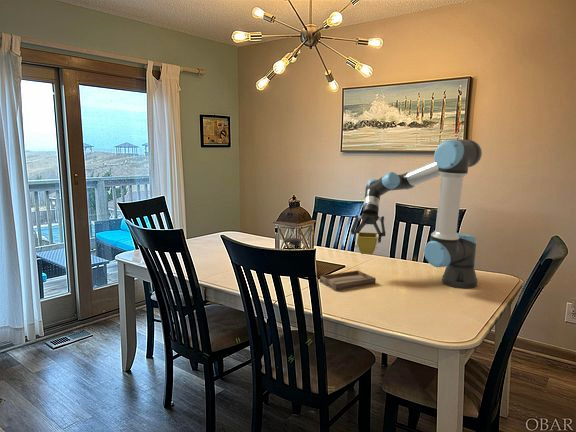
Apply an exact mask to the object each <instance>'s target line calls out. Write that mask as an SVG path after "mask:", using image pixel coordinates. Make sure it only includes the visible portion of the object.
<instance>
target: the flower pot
mask: <svg viewBox="0 0 576 432" xmlns="http://www.w3.org/2000/svg"><path fill="white" fill-rule="evenodd" d="M377 234H378V233H377V232H363V231H362V232H361V231H360V232H359V233H358V236H357V238H358V245H357V249H358V250H359V252H360V254H361V255H371V256H372V255H373V254H374V252H375V250H376V239H377Z"/></svg>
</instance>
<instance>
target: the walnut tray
mask: <svg viewBox="0 0 576 432" xmlns="http://www.w3.org/2000/svg"><path fill="white" fill-rule="evenodd" d="M319 283H320V284H322V285H324V286H325V287H327V288H329V289H331V290H332V291H334V292H338V291H339V292H340V291H344V290H349V289H350V290H351V289H357V288H363V287H368V286H373V285H375V286H376V277H374V276H372V275H369V274H367V273H365V272H363V271H361V270H357V269H356V270H350V271H344V272H338V273H331V274H324V275H319Z"/></svg>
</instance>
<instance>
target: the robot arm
mask: <svg viewBox="0 0 576 432" xmlns="http://www.w3.org/2000/svg"><path fill="white" fill-rule="evenodd" d="M482 151H483V150H482V147H481V146H480V144H479V143H478V142H477V141H475V140H472V139H455V138H454V139H449V140H448V139H447V140H444V141H443V142H442V141H441V143H439V144H438V146H437V147H436V149H435V151H434V155H433V160H432V161H430V162H428V163H426V164H423V165H421V166H418V167H416V168H414V169H411V170H409V171H408V172H405V173H401V174H397V173H395V172H393V171H390V172H387V173H385V174H384V175H383V176H381V177H380V178H379V179H376V178H373V179H369V180H367V182H366V185H365V189H364V190H365V192H364V198H363V199H364V200H363V208H362V212H361V213H362V214H361V215H358V214H356V215H355V220H354V221H353V224H352V227H351V229H350V234H351V235H353V241H354V242H355V244H354V249H358V238H357V236H358V234H359V232H361V231H362V229H363V228H364V227H365V226H366V225H373V227H374V229H375V231H376V233H377V239H376V246H375V250H378V248H379V244H381V242H382V237H386V229H385V223H384V222H385V216H384V215H383V216H379V213H380V212H379V210H380V209H379V208H380V201H381V196H384V195H385V194H387V193H388V192H391V191H399V190H400V191H401V190H410V189H413V188H414V187H416V186H417V185H419V184H422V183H424V182H427V181H430V180H432V179H435V178H438V177H440V176H441V177H440V183H439V184H440V186H439V193H438V195H439V196H438V201H437V211H436V221H435V230H433V232H431V234H430V239H429V240H430V241H428V242H427V243H426V244H425V245H424V248H423V254H424V257H425V260H426V261H427V262H428V264H430V265H431V266H433V267H434V268H445V270H444V273H443V275H442V277H441V282H442V284H444V285H445V286H449V287H452V288H457V287H458V289H471V288H470V287H473V288H475V286H476V287H478V281H479V280H478V277H477V273H476V270H475V262H476V250H477V237H476V236H475V235H472V234H469V233H462V232H457V228H458V221H459V213H460V206H461V197H462V189H463V181H464V177H466V175H468V172H469V168H471V167H474V166H476V165H477V164H478V163H479V162H480V161H481V159H482V155H483V152H482ZM360 220H362V221H360ZM378 221H379V222H380V227H381V230H380V228H379V225H378V223H377V222H378ZM359 222H360V223H359ZM358 224H359V225H358Z"/></svg>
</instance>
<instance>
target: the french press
mask: <svg viewBox="0 0 576 432" xmlns="http://www.w3.org/2000/svg"><path fill="white" fill-rule="evenodd" d="M289 229H291V230H292V229H294V230H296V228H289ZM291 232H292V231H291ZM291 234H292V236H291V237H292V238H289V237H284V238H283V241H284V243H285V244H286V243H289V244H290V245H292V246H291V247H292V248H286V247H284V248H283V250H284V249H289V250H292V249H293V250H295V249H294V248H293V247H294V246H299V245H301V243H302V240H303V238H301V239H298V238H299V237H296V238H293V237H294V231H293V232H292V233H291ZM302 248H303V247H302ZM302 248H297V249H302Z"/></svg>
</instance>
